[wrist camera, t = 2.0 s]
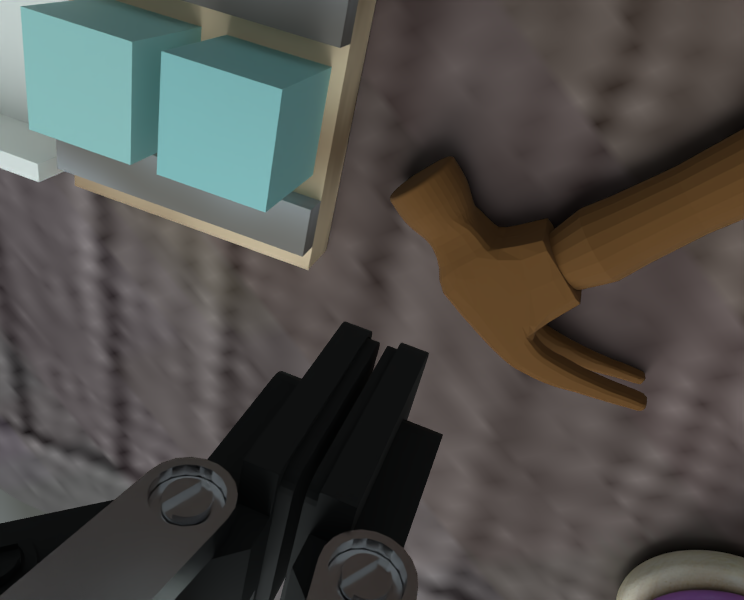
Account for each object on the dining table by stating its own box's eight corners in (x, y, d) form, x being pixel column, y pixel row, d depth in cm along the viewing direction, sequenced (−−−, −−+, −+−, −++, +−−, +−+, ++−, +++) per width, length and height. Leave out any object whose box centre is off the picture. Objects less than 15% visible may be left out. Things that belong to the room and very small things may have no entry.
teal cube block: (227, 34, 23) (161, 50, 20) (331, 66, 22) (282, 89, 19) (217, 143, 25) (156, 174, 22) (312, 175, 24) (265, 212, 21)
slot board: (102, -138, 23) (41, -147, 21) (388, -60, 22) (359, -61, 19) (104, 171, 30) (58, 193, 27) (325, 250, 28) (298, 280, 26)
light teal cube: (103, -4, 24) (20, 6, 20) (201, 26, 23) (132, 41, 20) (104, 104, 26) (28, 129, 22) (194, 135, 25) (130, 164, 22)
